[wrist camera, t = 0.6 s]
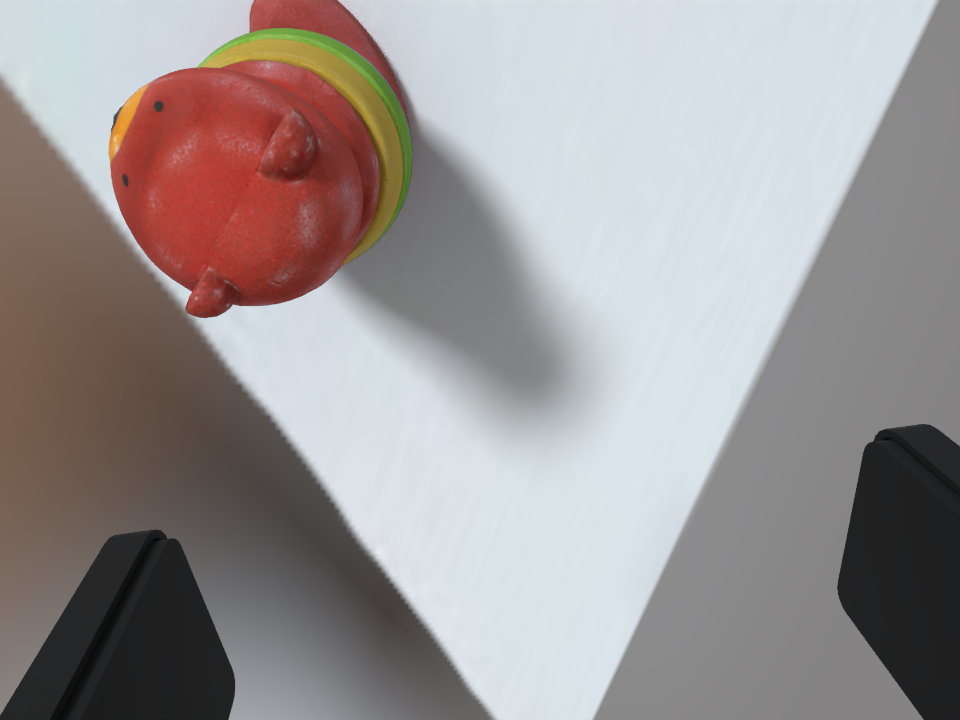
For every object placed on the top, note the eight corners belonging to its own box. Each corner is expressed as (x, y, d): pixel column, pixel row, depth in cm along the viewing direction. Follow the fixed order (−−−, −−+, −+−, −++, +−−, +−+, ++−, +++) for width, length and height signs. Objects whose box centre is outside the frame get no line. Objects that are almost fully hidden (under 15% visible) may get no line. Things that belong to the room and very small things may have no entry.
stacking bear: (285, -46, 30) (131, -130, 14) (459, 106, 33) (497, 180, 17) (165, 147, 33) (-71, 260, 17) (336, 268, 36) (272, 454, 20)
